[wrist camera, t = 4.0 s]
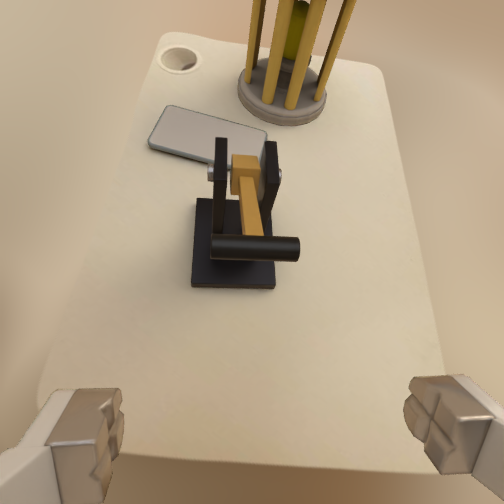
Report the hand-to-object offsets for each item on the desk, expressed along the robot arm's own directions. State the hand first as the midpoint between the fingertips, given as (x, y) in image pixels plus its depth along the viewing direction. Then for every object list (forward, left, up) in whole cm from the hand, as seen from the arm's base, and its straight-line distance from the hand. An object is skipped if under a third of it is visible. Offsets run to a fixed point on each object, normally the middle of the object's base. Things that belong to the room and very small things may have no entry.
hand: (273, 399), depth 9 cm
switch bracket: (+14, +10, -22) cm, 28 cm away
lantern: (+41, +20, -23) cm, 51 cm away
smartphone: (+25, +22, -22) cm, 40 cm away
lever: (+10, +7, -9) cm, 16 cm away
